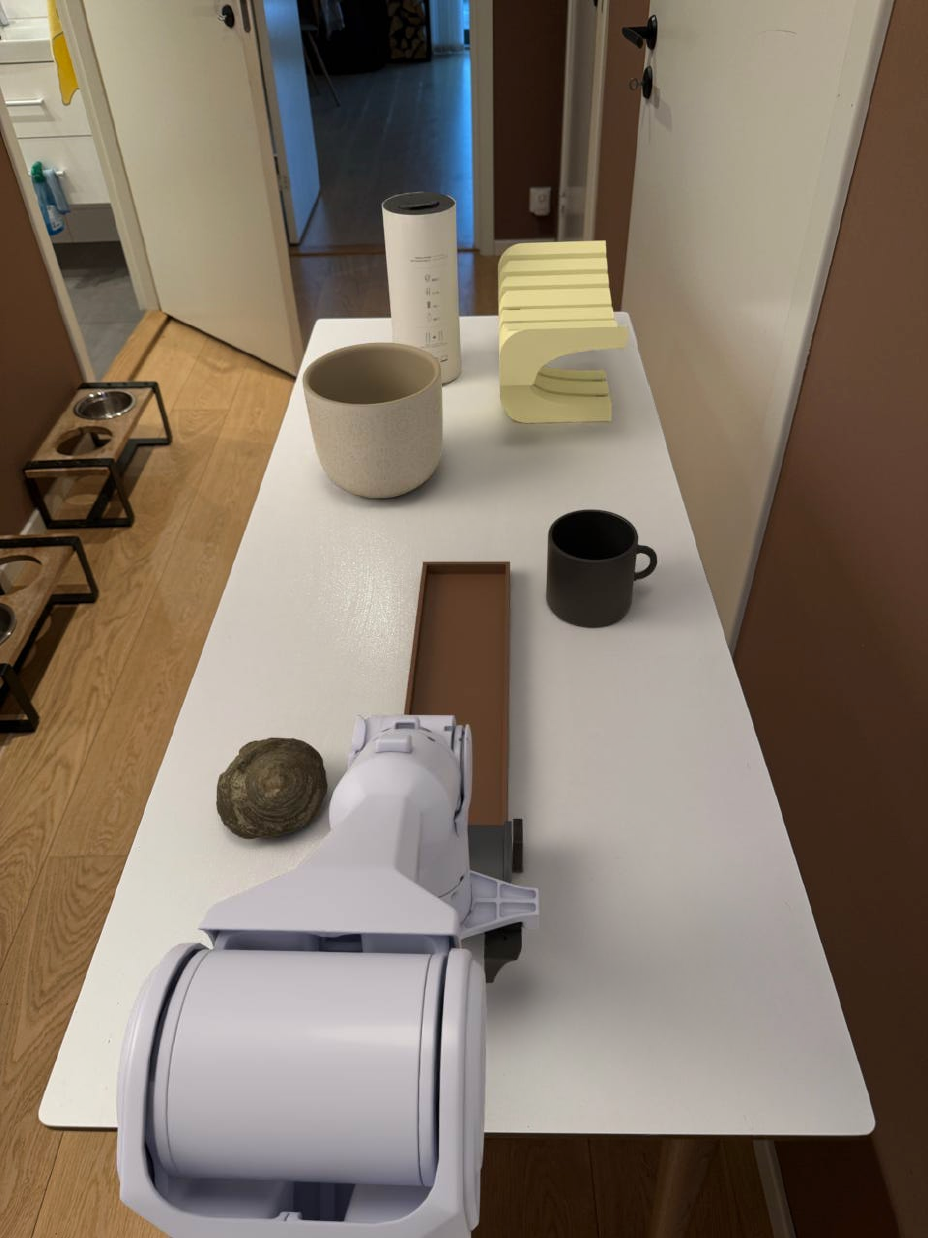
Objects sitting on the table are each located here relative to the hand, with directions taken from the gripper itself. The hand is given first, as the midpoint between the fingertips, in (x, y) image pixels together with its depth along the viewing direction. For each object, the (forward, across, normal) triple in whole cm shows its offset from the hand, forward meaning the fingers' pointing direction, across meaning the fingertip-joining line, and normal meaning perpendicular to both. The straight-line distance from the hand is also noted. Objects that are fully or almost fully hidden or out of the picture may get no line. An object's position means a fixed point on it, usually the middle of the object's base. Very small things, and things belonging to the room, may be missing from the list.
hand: (436, 969), depth 67 cm
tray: (+4, 0, -31) cm, 31 cm away
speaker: (+4, +8, -101) cm, 101 cm away
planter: (+4, +12, -71) cm, 72 cm away
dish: (+1, 0, -6) cm, 6 cm away
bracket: (+4, 0, -12) cm, 13 cm away
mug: (+4, -15, -46) cm, 49 cm away
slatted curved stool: (+4, -11, -92) cm, 93 cm away
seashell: (+4, +16, -19) cm, 25 cm away
